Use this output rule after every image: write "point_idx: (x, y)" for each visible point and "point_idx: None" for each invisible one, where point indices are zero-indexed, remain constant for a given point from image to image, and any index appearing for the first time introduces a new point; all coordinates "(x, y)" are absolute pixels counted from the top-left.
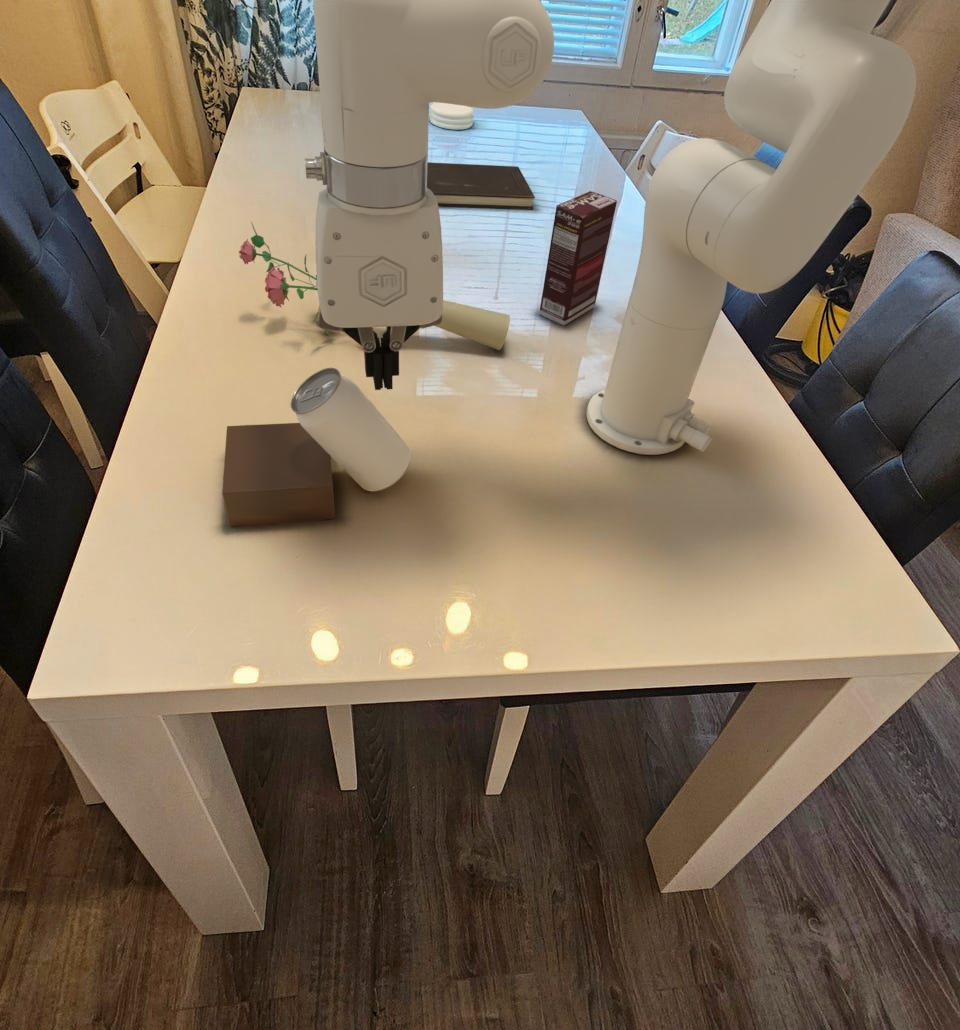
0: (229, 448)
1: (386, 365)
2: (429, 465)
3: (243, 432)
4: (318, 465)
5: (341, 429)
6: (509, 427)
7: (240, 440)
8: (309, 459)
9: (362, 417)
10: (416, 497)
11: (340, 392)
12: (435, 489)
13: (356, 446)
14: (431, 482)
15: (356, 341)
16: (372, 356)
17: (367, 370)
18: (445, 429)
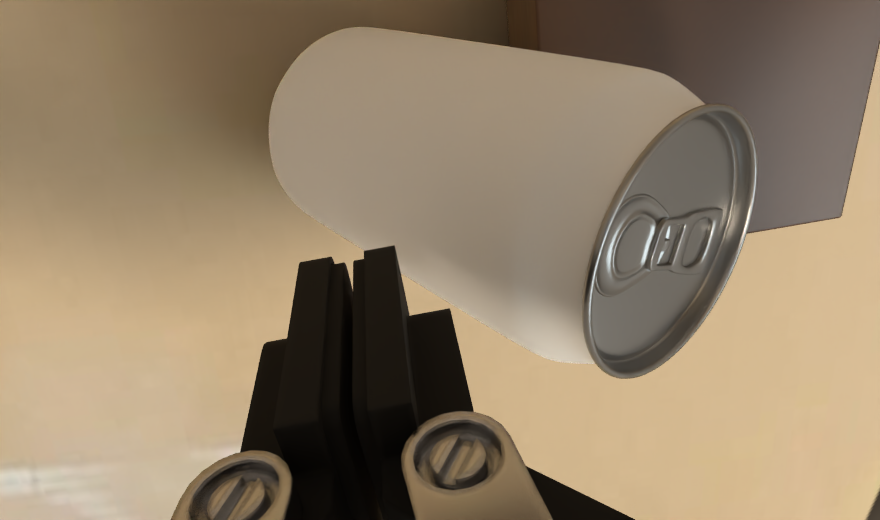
0: (852, 115)
1: (324, 353)
2: (237, 190)
3: (800, 193)
4: (581, 50)
5: (538, 74)
6: (34, 359)
7: (814, 156)
8: None
9: (447, 148)
10: (255, 47)
11: (577, 211)
12: (201, 88)
13: (460, 56)
14: (219, 118)
15: (560, 486)
16: (424, 406)
17: (447, 332)
18: (216, 332)
